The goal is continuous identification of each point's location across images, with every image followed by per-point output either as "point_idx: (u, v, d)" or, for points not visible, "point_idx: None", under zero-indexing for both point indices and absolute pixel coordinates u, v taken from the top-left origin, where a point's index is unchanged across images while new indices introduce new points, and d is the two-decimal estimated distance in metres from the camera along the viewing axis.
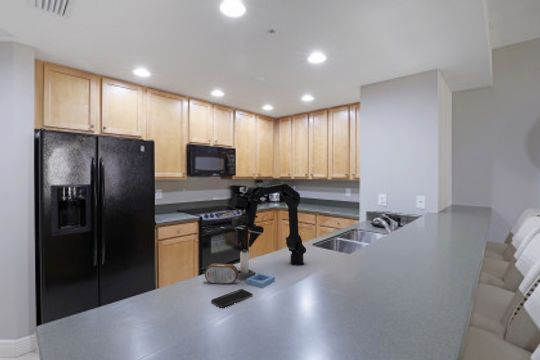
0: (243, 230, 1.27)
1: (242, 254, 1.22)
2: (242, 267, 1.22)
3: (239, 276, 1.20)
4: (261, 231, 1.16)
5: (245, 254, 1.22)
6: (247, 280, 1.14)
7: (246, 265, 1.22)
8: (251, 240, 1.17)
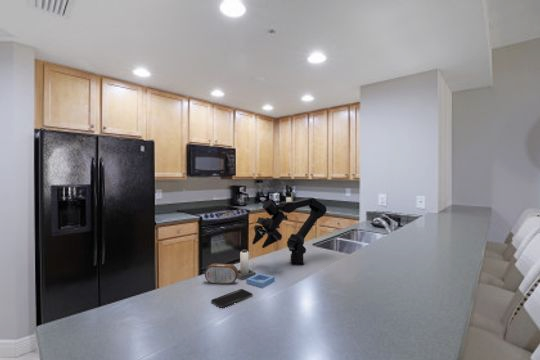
0: (261, 235, 1.35)
1: (242, 254, 1.22)
2: (242, 267, 1.22)
3: (239, 276, 1.20)
4: (279, 238, 1.24)
5: (245, 254, 1.22)
6: (247, 280, 1.14)
7: (246, 265, 1.22)
8: (267, 242, 1.25)
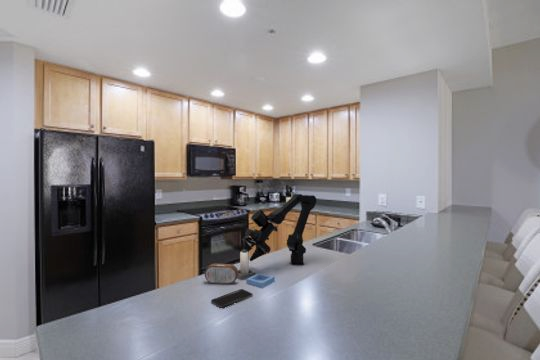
0: (250, 247, 1.32)
1: (242, 254, 1.22)
2: (242, 267, 1.22)
3: (239, 276, 1.20)
4: (267, 250, 1.20)
5: (245, 254, 1.22)
6: (247, 280, 1.14)
7: (246, 265, 1.22)
8: (254, 255, 1.21)
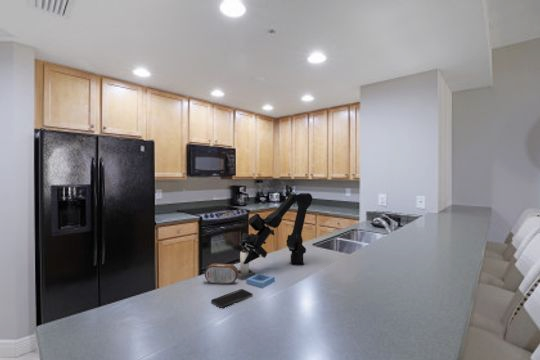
0: (249, 252, 1.28)
1: (242, 254, 1.22)
2: (242, 267, 1.22)
3: (239, 276, 1.20)
4: (264, 255, 1.19)
5: (245, 254, 1.22)
6: (247, 280, 1.14)
7: (246, 265, 1.22)
8: (248, 258, 1.22)
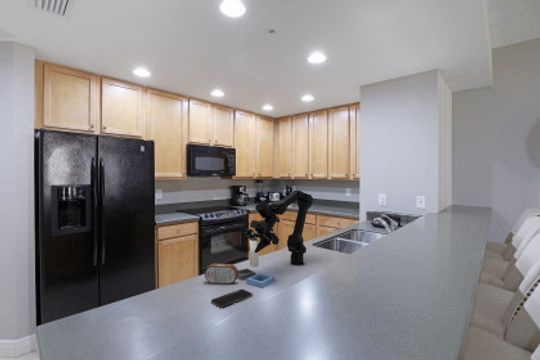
0: None
1: (253, 242, 1.16)
2: (253, 256, 1.16)
3: (239, 276, 1.20)
4: (277, 242, 1.16)
5: (256, 242, 1.17)
6: (247, 280, 1.14)
7: (257, 254, 1.17)
8: (260, 246, 1.16)
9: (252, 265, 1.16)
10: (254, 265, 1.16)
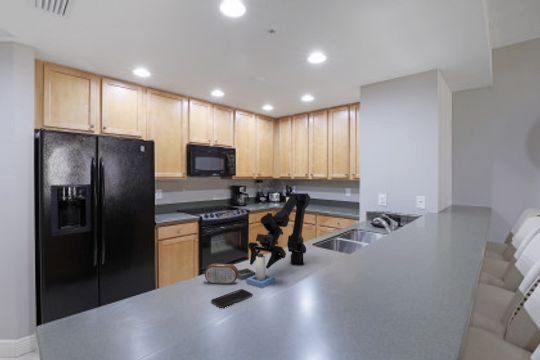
0: (257, 253, 1.22)
1: (260, 259, 1.14)
2: (260, 273, 1.14)
3: (239, 276, 1.20)
4: (284, 255, 1.15)
5: (263, 259, 1.14)
6: (247, 280, 1.14)
7: (264, 270, 1.15)
8: (271, 261, 1.13)
9: None
10: None
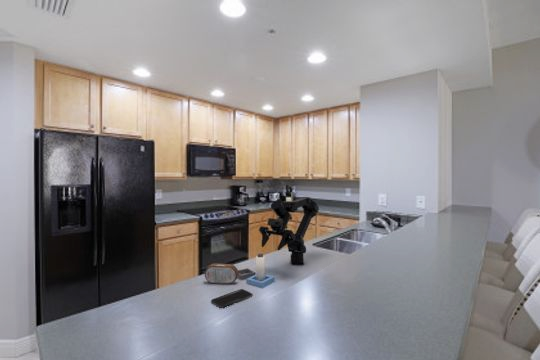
0: (267, 237, 1.30)
1: (260, 259, 1.14)
2: (260, 273, 1.14)
3: (239, 276, 1.20)
4: (294, 238, 1.22)
5: (263, 259, 1.14)
6: (247, 280, 1.14)
7: (264, 270, 1.15)
8: (282, 244, 1.21)
9: None
10: None
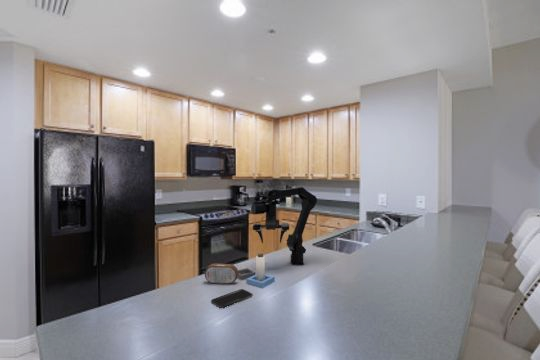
0: (261, 230, 1.37)
1: (260, 259, 1.14)
2: (260, 273, 1.14)
3: (239, 276, 1.20)
4: None
5: (263, 259, 1.14)
6: (247, 280, 1.14)
7: (264, 270, 1.15)
8: None
9: None
10: None
